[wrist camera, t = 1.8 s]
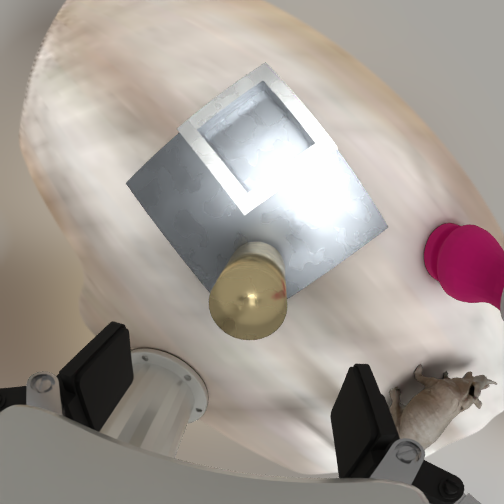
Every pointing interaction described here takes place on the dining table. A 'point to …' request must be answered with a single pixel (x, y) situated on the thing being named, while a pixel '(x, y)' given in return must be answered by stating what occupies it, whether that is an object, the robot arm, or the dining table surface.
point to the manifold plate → (257, 185)
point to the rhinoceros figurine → (435, 405)
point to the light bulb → (250, 293)
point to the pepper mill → (467, 264)
